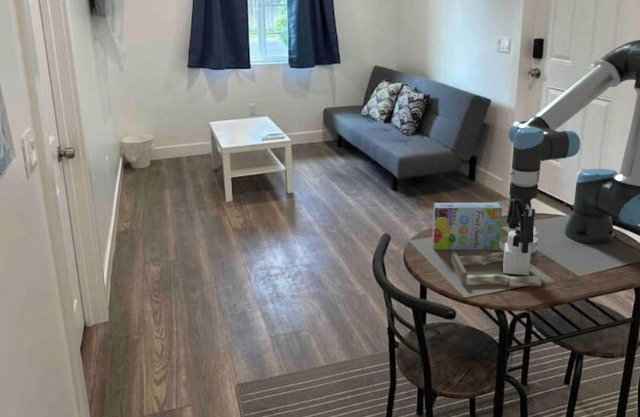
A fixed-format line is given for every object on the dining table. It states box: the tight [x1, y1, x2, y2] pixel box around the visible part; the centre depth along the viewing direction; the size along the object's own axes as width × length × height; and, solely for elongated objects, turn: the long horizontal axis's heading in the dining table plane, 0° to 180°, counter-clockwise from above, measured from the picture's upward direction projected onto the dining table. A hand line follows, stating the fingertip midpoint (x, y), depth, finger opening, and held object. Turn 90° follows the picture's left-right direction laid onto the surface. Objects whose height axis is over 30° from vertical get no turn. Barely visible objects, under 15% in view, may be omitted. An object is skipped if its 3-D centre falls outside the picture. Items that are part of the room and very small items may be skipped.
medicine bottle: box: [502, 229, 532, 276], centre depth 169 cm, size 7×7×12 cm
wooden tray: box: [450, 251, 543, 287], centre depth 170 cm, size 22×17×4 cm
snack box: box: [431, 202, 503, 251], centre depth 186 cm, size 21×6×15 cm, turn 84°
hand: (517, 254), depth 169 cm, fingers closed on medicine bottle, 8 cm apart
